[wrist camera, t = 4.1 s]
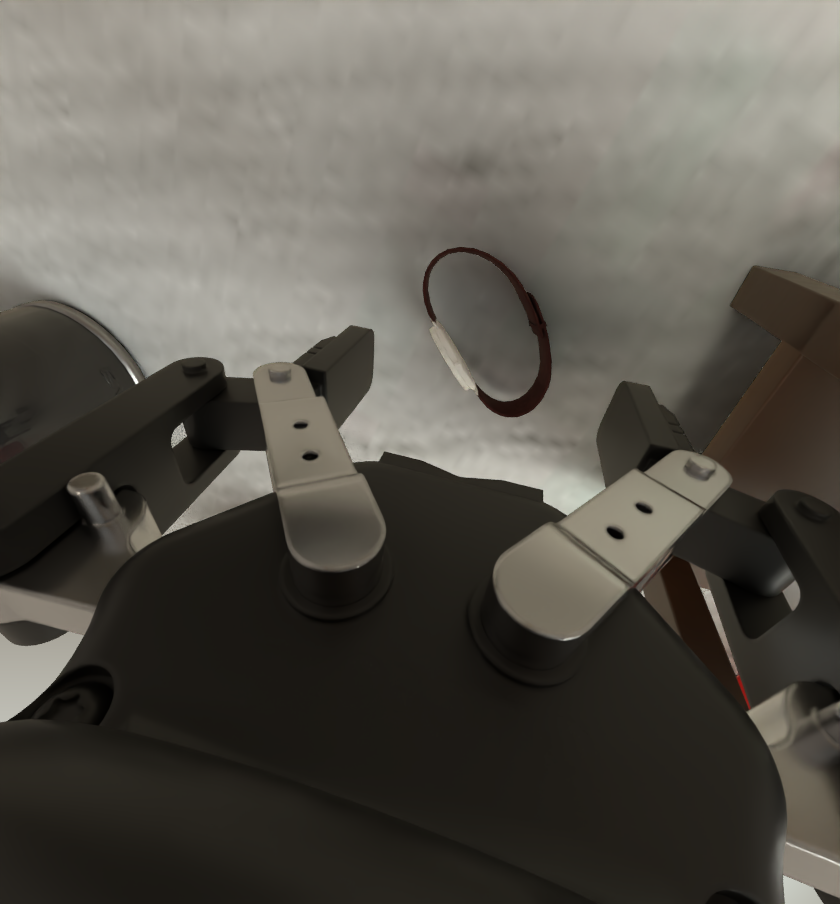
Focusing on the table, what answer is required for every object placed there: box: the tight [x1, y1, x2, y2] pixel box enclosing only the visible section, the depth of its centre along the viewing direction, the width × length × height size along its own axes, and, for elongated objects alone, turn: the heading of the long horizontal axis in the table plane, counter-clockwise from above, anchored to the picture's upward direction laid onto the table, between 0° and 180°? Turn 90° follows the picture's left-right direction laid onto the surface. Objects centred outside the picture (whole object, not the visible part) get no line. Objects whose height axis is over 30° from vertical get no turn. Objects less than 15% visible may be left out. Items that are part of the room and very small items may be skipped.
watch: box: [423, 247, 552, 417], centre depth 16 cm, size 8×5×4 cm, turn 34°
